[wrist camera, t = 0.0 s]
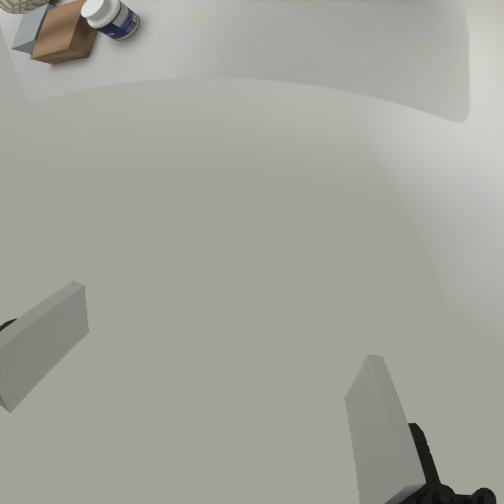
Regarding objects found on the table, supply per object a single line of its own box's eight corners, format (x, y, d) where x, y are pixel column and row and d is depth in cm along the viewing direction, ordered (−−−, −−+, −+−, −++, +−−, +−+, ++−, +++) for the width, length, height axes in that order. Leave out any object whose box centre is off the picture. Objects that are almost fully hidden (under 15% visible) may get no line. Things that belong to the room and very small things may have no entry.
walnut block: (67, 19, 30) (48, 10, 25) (106, 9, 30) (87, -4, 24) (52, 64, 34) (30, 58, 28) (89, 57, 33) (68, 48, 27)
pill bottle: (105, 38, 32) (70, 20, 23) (121, 12, 30) (90, -11, 21) (129, 43, 32) (94, 22, 23) (145, 15, 30) (115, -10, 21)
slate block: (42, 21, 30) (24, 14, 25) (67, 12, 30) (48, 3, 24) (30, 53, 33) (11, 48, 27) (54, 46, 32) (34, 39, 27)
